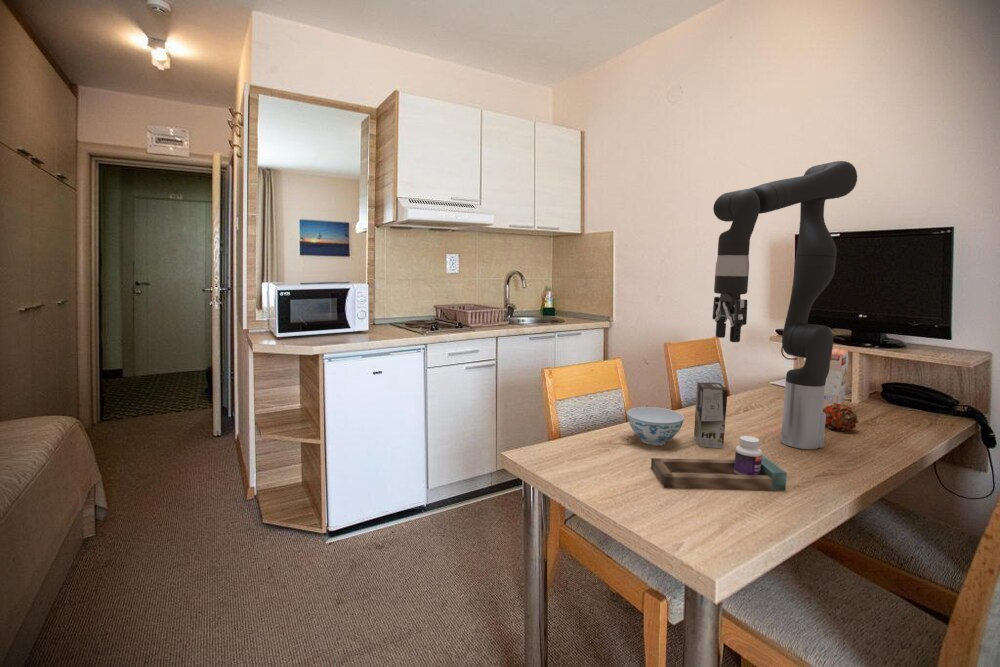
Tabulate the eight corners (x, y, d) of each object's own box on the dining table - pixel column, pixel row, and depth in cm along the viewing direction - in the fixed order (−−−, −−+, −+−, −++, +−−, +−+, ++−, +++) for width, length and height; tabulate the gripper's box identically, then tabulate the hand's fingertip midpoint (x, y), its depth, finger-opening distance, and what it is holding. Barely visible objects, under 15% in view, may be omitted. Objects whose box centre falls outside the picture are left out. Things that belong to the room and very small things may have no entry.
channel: (760, 470, 120) (761, 454, 120) (785, 490, 110) (786, 472, 109) (651, 468, 121) (651, 452, 121) (664, 487, 110) (665, 470, 110)
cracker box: (837, 416, 166) (844, 354, 163) (816, 413, 170) (822, 352, 167) (844, 408, 177) (850, 349, 174) (824, 405, 181) (830, 347, 178)
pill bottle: (758, 486, 111) (761, 444, 110) (731, 481, 114) (734, 439, 113) (760, 478, 116) (764, 437, 115) (735, 473, 119) (738, 433, 118)
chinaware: (621, 432, 148) (622, 406, 147) (672, 433, 148) (674, 407, 147) (632, 450, 133) (634, 422, 132) (690, 451, 133) (691, 423, 132)
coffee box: (724, 449, 135) (728, 389, 133) (698, 447, 136) (702, 388, 134) (717, 438, 144) (720, 382, 142) (693, 436, 145) (696, 381, 143)
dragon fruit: (855, 440, 147) (817, 434, 159) (871, 421, 150) (832, 416, 161) (842, 418, 146) (804, 413, 157) (858, 399, 148) (819, 395, 159)
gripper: (761, 274, 117) (755, 344, 119) (734, 274, 131) (730, 336, 133) (728, 274, 117) (723, 343, 119) (705, 274, 131) (701, 335, 133)
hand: (727, 339), depth 126 cm, fingers open, 8 cm apart
